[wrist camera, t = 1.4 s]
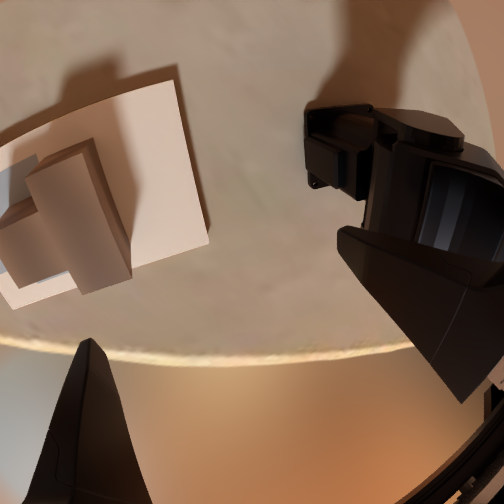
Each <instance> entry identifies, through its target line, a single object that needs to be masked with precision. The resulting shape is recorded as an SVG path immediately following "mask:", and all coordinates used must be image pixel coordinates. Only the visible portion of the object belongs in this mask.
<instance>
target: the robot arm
mask: <svg viewBox="0 0 504 504" xmlns="http://www.w3.org/2000/svg"><path fill="white" fill-rule="evenodd" d="M368 108H369V111H367V110H368ZM311 113H312V114H313V117H312V118H311V119H310V114H311ZM304 123H305V138H304V149H305V166H306V169H307V171H308V185H309V186H310V187H311V188H312V189H318V188H322V187H326V186H332V187H333V188H335V189H340V190H342V191H343V192H345V193H346V194H348V195H349V196H351V197H352V198H353V199H355V200H356V201H361V200H365V201H366V204H365V211H364V218H363V223H361V228H357V227H353V226H344V227H342V228H340V229H338V231H337V250H338V252H339V254H340V256H341V257H342V258H343V260H344V261H345V262H346V264H347V265H348V266H349V268H350V269H351V270H352V272H353V273H354V275H355V276H356V277H357V279H358V280H359V281H360V283H361V284H362V285H363V286H364V287H365V289H366V290H367V291H368V292H369V293H370V294H371V295H372V296H373V298H374V299H375V300H376V301H377V302H378V303H379V304H380V305H381V307H382V308H383V309H384V310H385V311H386V312H387V314H388V315H389V316H390V317H391V318H392V319H393V320H394V322H395V323H396V324H397V325H398V326H399V327H400V329H401V330H402V331H403V332H404V333H405V335H406V336H407V337H408V338H409V339H410V341H411V342H412V343H413V344H414V345H415V347H416V348H417V349H418V350H419V351H420V353H421V354H422V355H423V356H424V357H425V359H426V360H427V361H428V362H429V363H430V365H431V366H432V367H433V369H434V370H435V371H436V373H437V374H438V375H439V376H440V378H441V379H442V380H443V382H444V383H445V384H446V385H447V387H448V388H449V389H450V390H451V392H452V393H453V394H454V396H455V397H456V398H457V400H458V401H459V402H460V403H461V404H462V403H463V402H464V401H465V400H466V399H467V398H468V397H469V396H470V395H471V394H472V393H473V391H475V389H476V388H477V387H478V386H479V385H480V384H481V383H482V382H483V381H484V379H485V378H486V377H488V378H489V379H490V380H491V381H492V382H493V383H492V384H491V386H490V387H489V388H488V389H487V390H486V392H485V393H484V422H483V423H482V425H481V426H480V427H479V428H478V429H477V430H476V432H475V433H473V435H472V436H471V437H470V438H469V439H468V440H467V441H466V442H465V443H464V444H463V445H462V446H461V447H460V448H459V450H457V451H456V452H455V453H454V454H453V455H452V456H451V457H450V458H449V459H448V460H447V461H446V462H445V463H444V464H443V465H442V466H441V467H439V468H438V469H437V470H436V471H435V472H434V473H433V474H431V475H430V476H429V477H428V478H427V479H426V480H424V481H423V482H422V483H421V484H420V485H418V486H417V487H416V488H415V489H413V490H412V491H411V492H410V493H408V494H407V495H406V496H405V497H403V498H402V499H400V500H399V501H398V502H396V503H395V504H444V503H445V502H446V501H447V500H448V499H449V498H451V497H452V496H453V495H454V494H455V493H456V491H458V490H459V491H460V492H461V493H462V494H461V495H460V496H459V497H458V498H457V501H456V502H454V503H453V504H504V171H503V169H502V168H501V167H500V166H499V165H498V163H497V162H496V161H495V160H494V159H493V157H492V156H491V155H490V154H489V153H488V152H487V151H486V150H485V149H483V148H481V147H478V146H475V145H473V144H470V143H467V142H464V137H465V136H464V134H463V133H462V132H461V131H460V130H459V129H458V128H457V127H456V126H455V125H454V124H453V123H452V122H451V121H450V120H449V119H447V118H445V117H441V116H438V115H434V114H431V113H427V112H424V111H419V110H406V109H389V108H374V107H373V106H372V105H370V104H355V105H343V106H332V107H323V108H315V109H308V110H307V111H305V113H304ZM314 181H316V183H315V184H314V185H313V183H314ZM22 504H152V501H151V498H150V496H149V493H148V491H147V488H146V485H145V482H144V479H143V477H142V474H141V471H140V468H139V465H138V462H137V459H136V455H135V452H134V449H133V446H132V442H131V439H130V435H129V432H128V428H127V424H126V420H125V417H124V413H123V408H122V404H121V400H120V396H119V394H118V390H117V387H116V384H115V381H114V378H113V375H112V372H111V369H110V365H109V362H108V359H107V356H106V354H105V352H104V351H103V350H102V349H101V347H100V346H99V345H98V344H97V343H96V342H95V341H94V339H92V338H88V339H86V340H83V341H81V342H80V344H79V347H78V349H77V351H76V354H75V356H74V359H73V361H72V364H71V366H70V369H69V371H68V374H67V376H66V379H65V382H64V384H63V387H62V390H61V393H60V395H59V398H58V401H57V404H56V407H55V410H54V413H53V416H52V419H51V423H50V426H49V430H48V432H47V435H46V438H45V442H44V445H43V448H42V452H41V455H40V458H39V460H38V464H37V466H36V469H35V472H34V475H33V478H32V481H31V484H30V487H29V490H28V493H27V496H26V498H25V500H24V501H23V502H22Z"/></svg>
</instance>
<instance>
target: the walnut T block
mask: <svg viewBox="0 0 504 504" xmlns="http://www.w3.org/2000/svg"><path fill="white" fill-rule="evenodd" d="M25 181H26V183H27V186H28V188H29V191H30V193H31V196H30V197H28V198H26V199H24V200H22V201H20V202H18V203H16V204H14V205H12V206H10V207H8V209H7V210H6V211H5V213H4V214H3V215H2V217H1V218H0V260H1V261H2V263H3V265H4V266H5V268H6V270H7V271H8V273H9V275H10V276H11V278H12V279H13V281H14V282H15V284H16V286H17V287H18V289H20V288H23V287H26V286H28V285H31V284H33V283H36V282H38V281H41V280H44V279H46V278H49V277H52V276H54V275H57V274H60V273H62V272H65V271H69V273H70V275H71V277H72V278H73V280H74V282H75V284H76V285H77V287H78V289H79V290H80V292H81V294H82V295H85V294H88V293H91V292H93V291H96V290H99V289H102V288H105V287H108V286H111V285H114V284H117V283H120V282H123V281H126V280H129V279H132V265H131V244H130V241H129V239H128V236H127V234H126V231H125V229H124V226H123V224H122V221H121V218H120V216H119V213H118V210H117V208H116V205H115V202H114V199H113V197H112V194H111V191H110V188H109V185H108V182H107V180H106V177H105V174H104V171H103V167H102V164H101V161H100V158H99V155H98V152H97V148H96V145H95V142H94V138H93V137H92V138H90V139H87V140H85V141H82V142H80V143H77V144H75V145H72V146H70V147H67V148H65V149H63V150H60V151H58V152H56V153H54V154H51V155H49V156H47V157H45V158H44V159H43V160H42V161H41V162H40V163H39V164H38V165H37V166H36V167H35V168H34V169H33V170H32V171H31V172H30V173H29V174H28V175H27V176H26V177H25Z"/></svg>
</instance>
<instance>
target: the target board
mask: <svg viewBox="0 0 504 504" xmlns="http://www.w3.org/2000/svg"><path fill="white" fill-rule="evenodd" d="M92 137H93V138H94V142H95V145H96V148H97V152H98V155H99V158H100V161H101V164H102V167H103V171H104V174H105V177H106V180H107V182H108V185H109V188H110V191H111V194H112V197H113V199H114V202H115V205H116V208H117V210H118V213H119V216H120V218H121V221H122V224H123V226H124V229H125V231H126V234H127V236H128V239H129V241H130V244H131V265H132V269H133V268H136V267H139V266H142V265H145V264H148V263H151V262H154V261H157V260H160V259H163V258H166V257H169V256H172V255H175V254H178V253H182V252H185V251H188V250H191V249H194V248H197V247H200V246H203V245H207V244H210V243H209V239H208V235H207V231H206V227H205V223H204V219H203V215H202V210H201V206H200V202H199V198H198V194H197V189H196V185H195V181H194V176H193V172H192V168H191V163H190V159H189V154H188V150H187V145H186V141H185V136H184V131H183V127H182V122H181V117H180V112H179V107H178V102H177V97H176V92H175V87H174V82H173V80H169V81H165V82H161V83H157V84H153V85H150V86H146V87H143V88H139V89H136V90H132V91H129V92H126V93H123V94H120V95H117V96H114V97H111V98H108V99H105V100H102V101H99V102H97V103H94V104H91V105H89V106H86V107H83V108H81V109H78V110H76V111H73V112H71V113H69V114H66V115H64V116H62V117H59V118H57V119H55V120H53V121H50V122H48V123H46V124H44V125H42V126H40V127H38V128H36V129H34V130H32V131H30V132H28V133H26V134H24V135H22V136H20V137H18V138H16V139H14V140H12V141H11V142H9V143H7V144H5V145H3V146H2V147H0V218H1V217H2V215H3V214H4V213H5V211H6V210H7V209H8V207H10V206H12V205H14V204H16V203H18V202H20V201H22V200H24V199H26V198H28V197H30V196H31V193H30V191H29V188H28V186H27V183H26V181H25V177H26V176H27V175H28V174H29V173H30V172H31V171H32V170H33V169H34V168H35V167H36V166H37V165H38V164H39V163H40V162H41V161H42V160H43V159H44V158H45V157H47V156H49V155H51V154H54V153H56V152H58V151H60V150H63V149H65V148H67V147H70V146H72V145H75V144H77V143H80V142H82V141H85V140H87V139H90V138H92ZM76 287H77V285H76V284H75V282H74V280H73V278H72V277H71V275H70V273H69V271H65V272H62V273H60V274H57V275H54V276H52V277H49V278H46V279H44V280H41V281H38V282H36V283H33V284H31V285H28V286H26V287H23V288H20V289H18V287H17V286H16V284H15V282H14V281H13V279H12V278H11V276H10V275H9V273H8V271H7V270H6V268H5V266H4V265H3V263H2V261H1V260H0V292H1V293H2V295H3V296H4V298H5V299H6V301H7V302H8V303H9V305H10V306H11V308H12V309H13V310H14V309H17V308H20V307H22V306H25V305H28V304H31V303H34V302H36V301H39V300H42V299H45V298H48V297H51V296H53V295H56V294H59V293H62V292H65V291H68V290H71V289H73V288H76Z"/></svg>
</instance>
